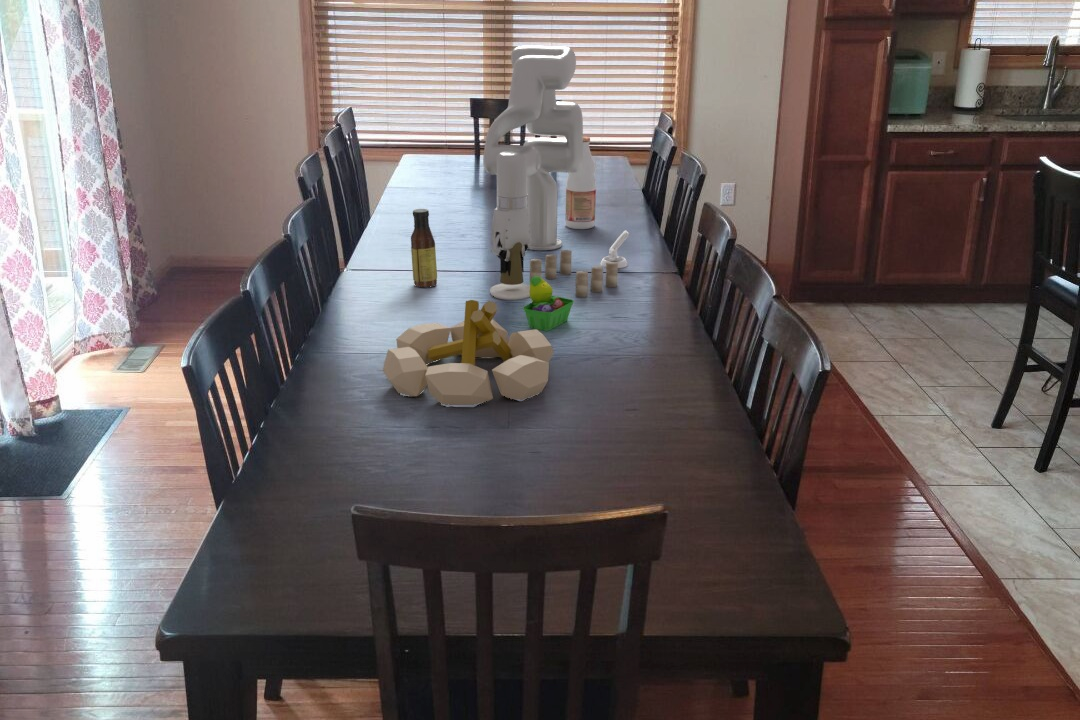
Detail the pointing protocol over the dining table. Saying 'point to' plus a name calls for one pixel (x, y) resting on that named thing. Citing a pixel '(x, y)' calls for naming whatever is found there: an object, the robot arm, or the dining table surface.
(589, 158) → the fruit juice
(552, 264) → the posts
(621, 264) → the white plastic lever piece
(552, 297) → the fruit basket
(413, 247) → the sauce bottle
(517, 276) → the cork
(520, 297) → the white round plate
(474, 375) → the campfire
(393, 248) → the dining table surface
